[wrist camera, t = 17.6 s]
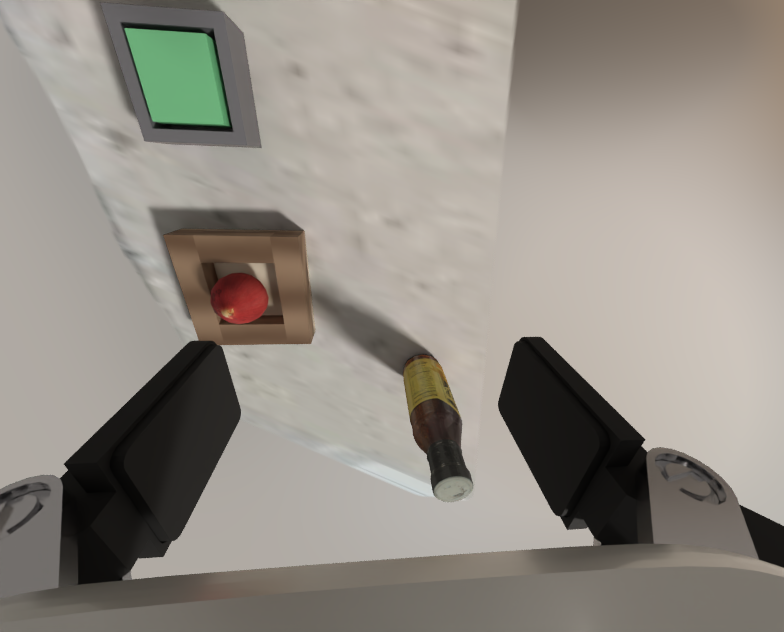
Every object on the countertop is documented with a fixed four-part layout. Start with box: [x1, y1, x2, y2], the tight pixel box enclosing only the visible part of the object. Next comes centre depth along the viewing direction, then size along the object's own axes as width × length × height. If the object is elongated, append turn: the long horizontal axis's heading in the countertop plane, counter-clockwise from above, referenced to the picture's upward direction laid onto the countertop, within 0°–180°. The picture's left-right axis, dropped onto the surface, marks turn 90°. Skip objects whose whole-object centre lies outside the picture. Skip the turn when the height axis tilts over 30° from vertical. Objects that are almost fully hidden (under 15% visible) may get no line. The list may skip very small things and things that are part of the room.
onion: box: [210, 273, 269, 324], centre depth 32 cm, size 6×6×8 cm
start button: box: [125, 28, 233, 128], centre depth 25 cm, size 6×6×3 cm
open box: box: [163, 229, 315, 345], centre depth 35 cm, size 14×14×4 cm
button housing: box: [100, 2, 262, 148], centre depth 26 cm, size 9×9×4 cm
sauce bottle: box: [403, 355, 473, 502], centre depth 36 cm, size 6×6×20 cm
